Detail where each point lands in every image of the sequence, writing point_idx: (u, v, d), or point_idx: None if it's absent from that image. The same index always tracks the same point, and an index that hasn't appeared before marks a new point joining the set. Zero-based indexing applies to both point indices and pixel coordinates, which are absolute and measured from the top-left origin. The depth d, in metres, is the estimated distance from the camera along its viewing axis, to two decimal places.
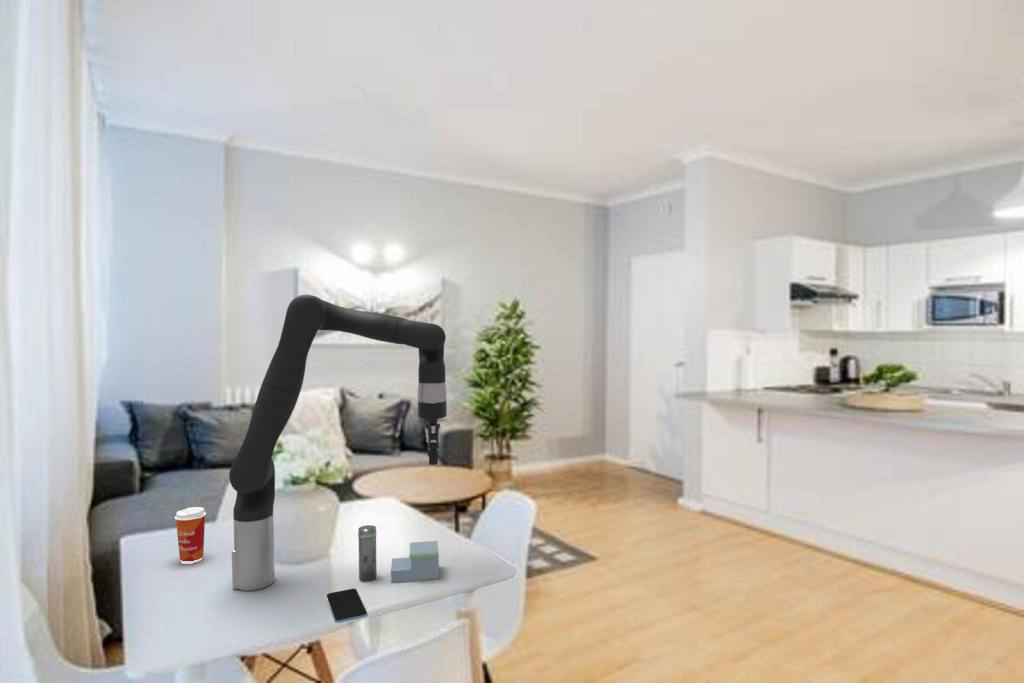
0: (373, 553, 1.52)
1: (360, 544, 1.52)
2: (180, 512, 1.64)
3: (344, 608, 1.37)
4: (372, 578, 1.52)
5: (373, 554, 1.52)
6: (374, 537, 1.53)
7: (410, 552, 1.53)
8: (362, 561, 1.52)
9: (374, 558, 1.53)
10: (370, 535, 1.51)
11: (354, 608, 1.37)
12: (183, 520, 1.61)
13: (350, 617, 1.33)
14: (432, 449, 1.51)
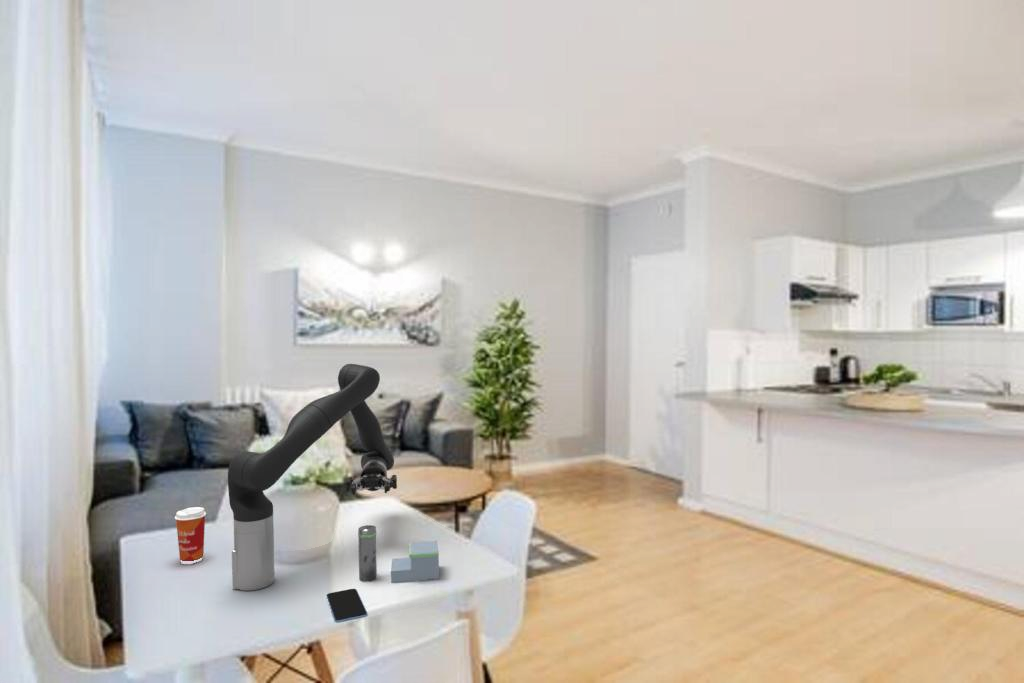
0: (373, 553, 1.52)
1: (360, 544, 1.52)
2: (180, 512, 1.64)
3: (344, 608, 1.37)
4: (372, 578, 1.52)
5: (373, 554, 1.52)
6: (374, 537, 1.53)
7: (410, 552, 1.53)
8: (362, 561, 1.52)
9: (374, 558, 1.53)
10: (370, 535, 1.51)
11: (354, 608, 1.37)
12: (183, 520, 1.61)
13: (350, 617, 1.33)
14: (393, 483, 1.69)
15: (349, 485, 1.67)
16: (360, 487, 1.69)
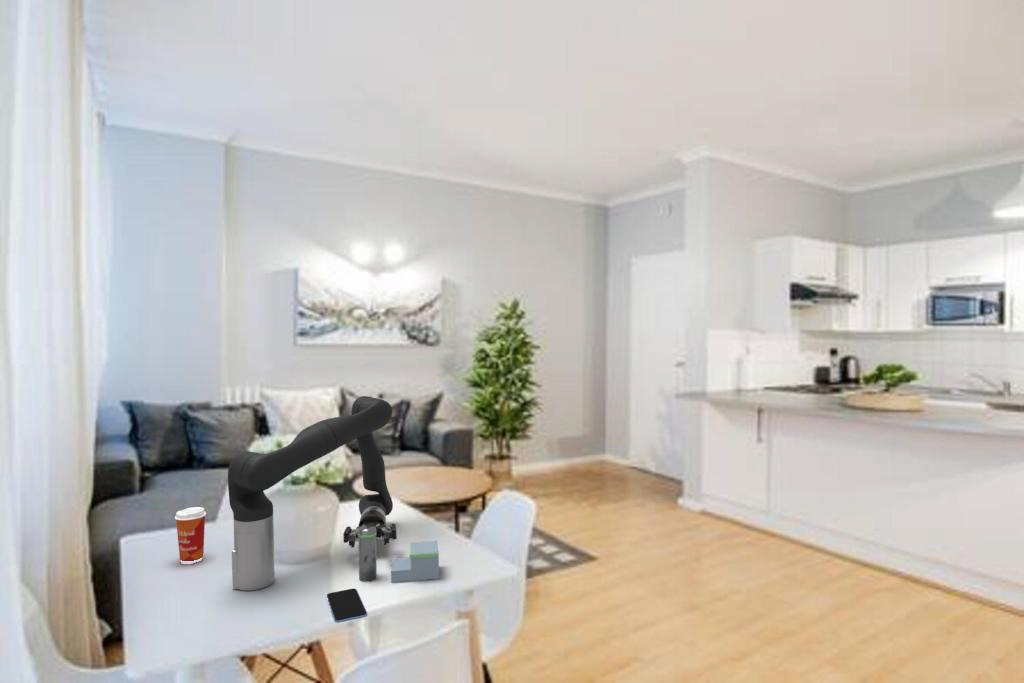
0: (373, 553, 1.52)
1: (360, 544, 1.52)
2: (180, 512, 1.64)
3: (344, 608, 1.37)
4: (372, 578, 1.52)
5: (373, 554, 1.52)
6: (374, 537, 1.53)
7: (410, 552, 1.53)
8: (362, 561, 1.52)
9: (374, 558, 1.53)
10: (370, 535, 1.51)
11: (354, 608, 1.37)
12: (183, 520, 1.61)
13: (350, 617, 1.33)
14: (393, 534, 1.64)
15: (347, 536, 1.62)
16: (358, 538, 1.64)
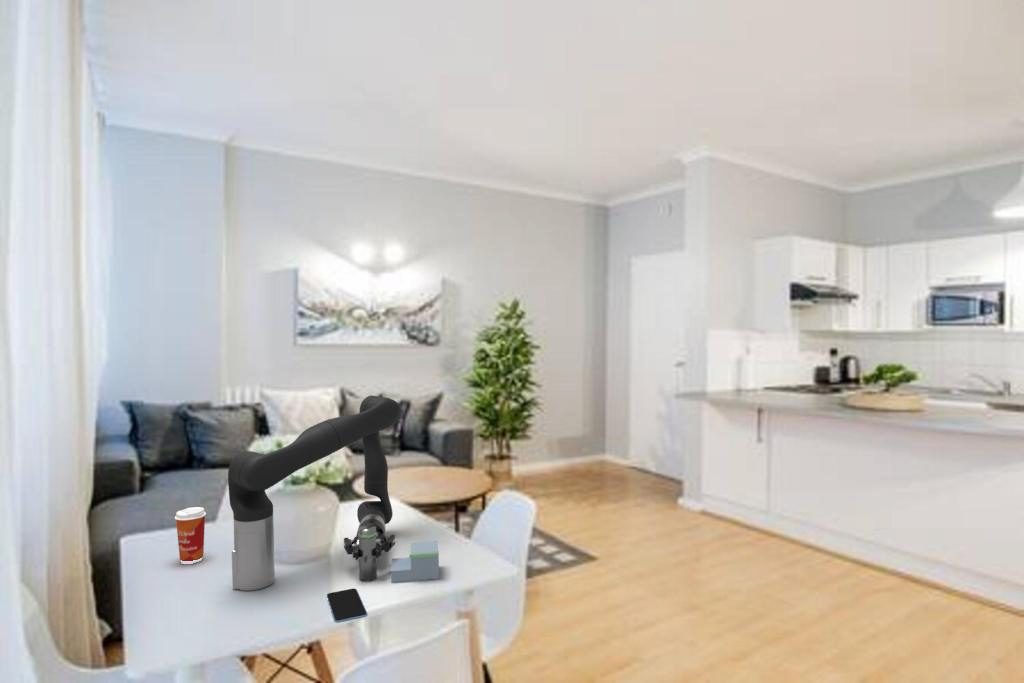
0: (373, 553, 1.52)
1: (360, 544, 1.52)
2: (180, 512, 1.64)
3: (344, 608, 1.37)
4: (372, 578, 1.52)
5: (373, 554, 1.52)
6: (374, 537, 1.53)
7: (410, 552, 1.53)
8: (362, 561, 1.52)
9: (374, 558, 1.53)
10: (370, 535, 1.51)
11: (354, 608, 1.37)
12: (183, 520, 1.61)
13: (350, 617, 1.33)
14: (385, 546, 1.56)
15: None
16: None
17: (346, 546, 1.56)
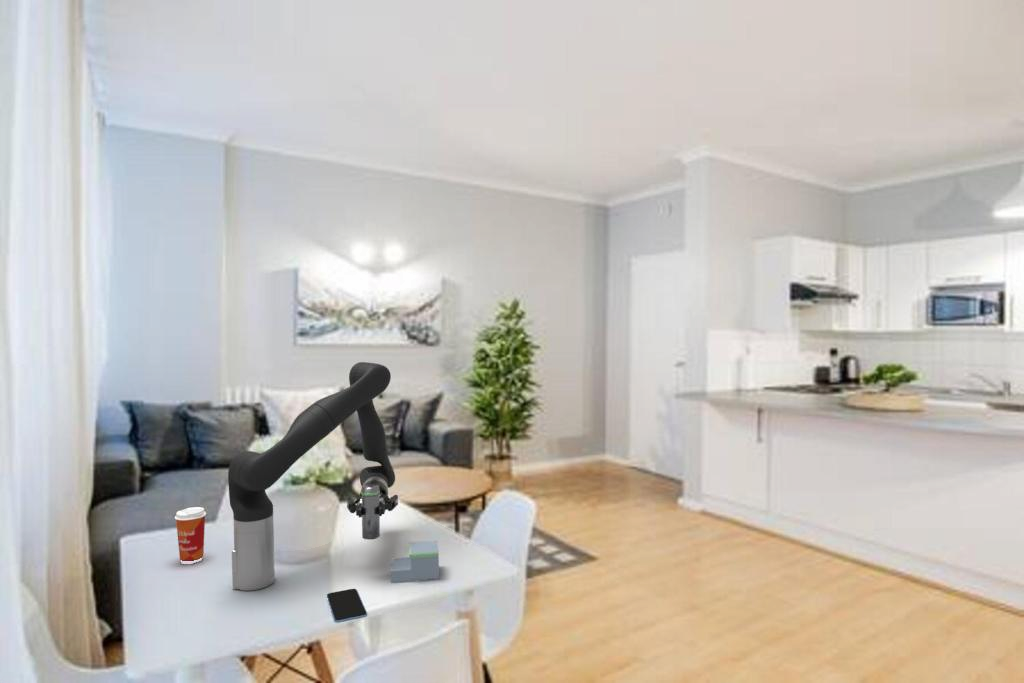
0: (376, 511, 1.52)
1: (363, 502, 1.52)
2: (180, 512, 1.64)
3: (344, 608, 1.37)
4: (375, 536, 1.52)
5: (376, 512, 1.52)
6: (377, 495, 1.52)
7: (410, 552, 1.53)
8: (365, 519, 1.51)
9: (377, 516, 1.52)
10: (373, 493, 1.51)
11: (354, 608, 1.37)
12: (183, 520, 1.61)
13: (350, 617, 1.33)
14: (388, 505, 1.56)
15: None
16: None
17: (349, 505, 1.56)
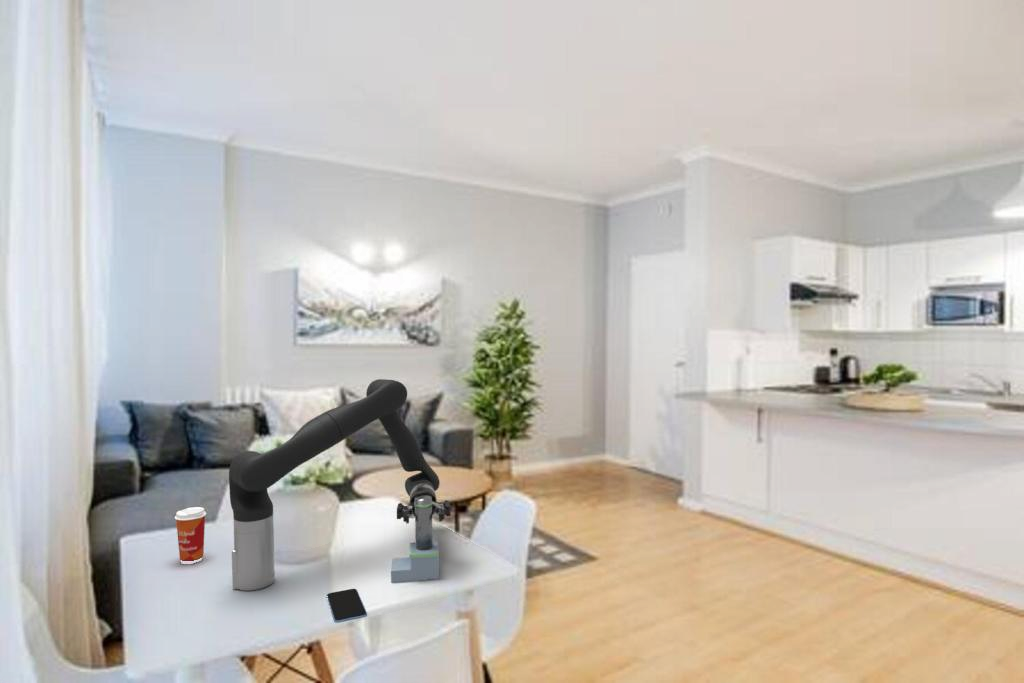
0: (429, 522, 1.54)
1: (417, 513, 1.54)
2: (180, 512, 1.64)
3: (344, 608, 1.37)
4: (429, 547, 1.54)
5: (430, 523, 1.54)
6: (430, 507, 1.55)
7: (410, 552, 1.53)
8: (419, 530, 1.54)
9: (430, 527, 1.55)
10: (427, 505, 1.53)
11: (354, 608, 1.37)
12: (183, 520, 1.61)
13: (350, 617, 1.33)
14: (447, 511, 1.59)
15: (401, 512, 1.57)
16: (412, 514, 1.59)
17: None
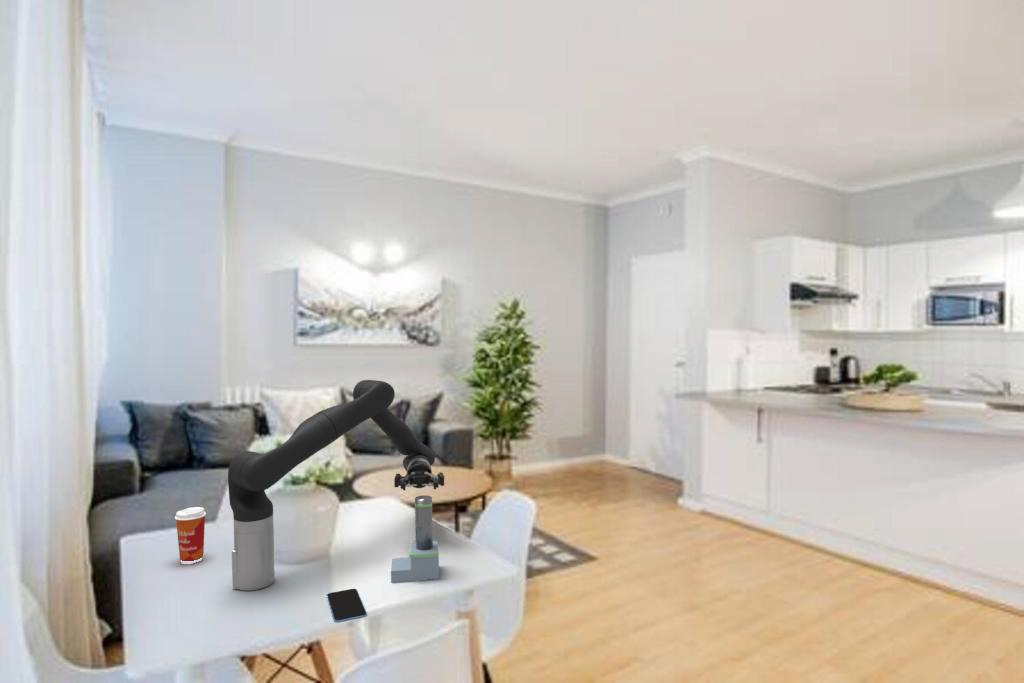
0: (429, 522, 1.54)
1: (417, 513, 1.54)
2: (180, 512, 1.64)
3: (344, 608, 1.37)
4: (429, 547, 1.54)
5: (430, 523, 1.54)
6: (430, 506, 1.55)
7: (410, 552, 1.53)
8: (419, 530, 1.54)
9: (430, 527, 1.55)
10: (427, 504, 1.54)
11: (354, 608, 1.37)
12: (183, 520, 1.61)
13: (350, 617, 1.33)
14: (441, 480, 1.72)
15: (398, 481, 1.70)
16: (408, 483, 1.72)
17: None
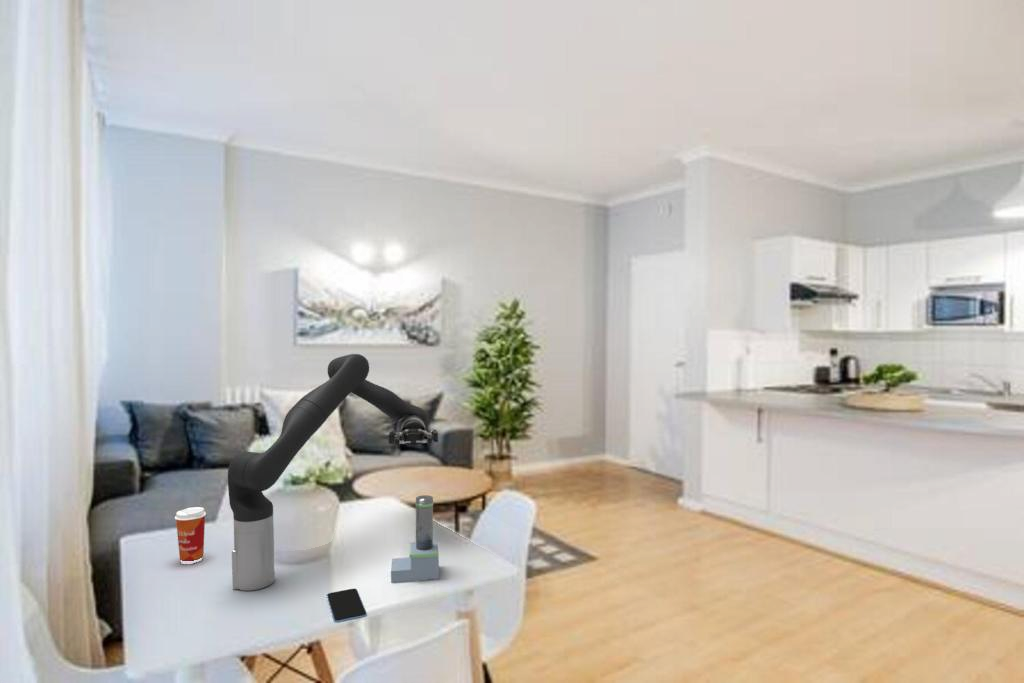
0: (430, 522, 1.54)
1: (418, 513, 1.54)
2: (180, 512, 1.64)
3: (344, 608, 1.37)
4: (429, 547, 1.54)
5: (430, 523, 1.54)
6: (431, 506, 1.55)
7: (410, 552, 1.53)
8: (420, 530, 1.54)
9: (431, 527, 1.55)
10: (428, 504, 1.54)
11: (354, 608, 1.37)
12: (183, 520, 1.61)
13: (349, 617, 1.33)
14: (435, 437, 1.74)
15: (392, 437, 1.72)
16: (402, 440, 1.74)
17: None
